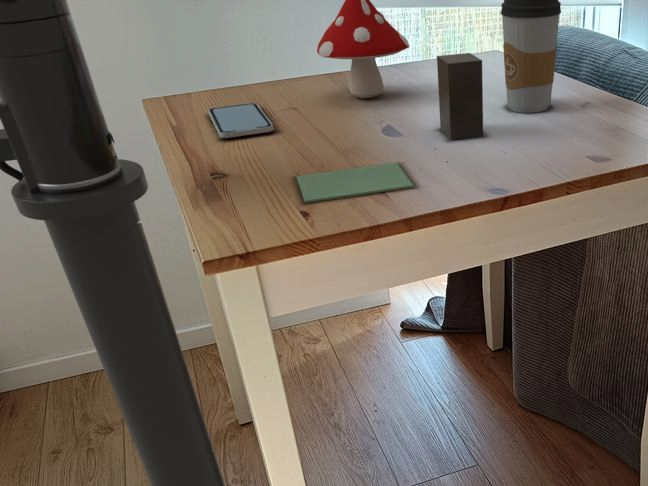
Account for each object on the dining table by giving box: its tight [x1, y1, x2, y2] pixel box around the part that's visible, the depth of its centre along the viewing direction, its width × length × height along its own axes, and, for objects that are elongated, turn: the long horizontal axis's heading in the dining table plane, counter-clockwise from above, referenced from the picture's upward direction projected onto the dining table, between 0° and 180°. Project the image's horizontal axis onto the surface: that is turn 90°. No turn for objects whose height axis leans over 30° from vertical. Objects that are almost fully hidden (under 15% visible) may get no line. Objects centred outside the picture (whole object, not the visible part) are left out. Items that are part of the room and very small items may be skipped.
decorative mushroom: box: [316, 0, 410, 99], centre depth 106 cm, size 14×14×15 cm
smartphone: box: [207, 102, 275, 139], centre depth 99 cm, size 7×1×15 cm
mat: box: [296, 162, 414, 204], centre depth 78 cm, size 12×8×1 cm, turn 108°
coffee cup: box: [500, 0, 562, 114], centre depth 98 cm, size 8×8×15 cm
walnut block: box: [436, 52, 484, 141], centre depth 90 cm, size 4×5×10 cm
